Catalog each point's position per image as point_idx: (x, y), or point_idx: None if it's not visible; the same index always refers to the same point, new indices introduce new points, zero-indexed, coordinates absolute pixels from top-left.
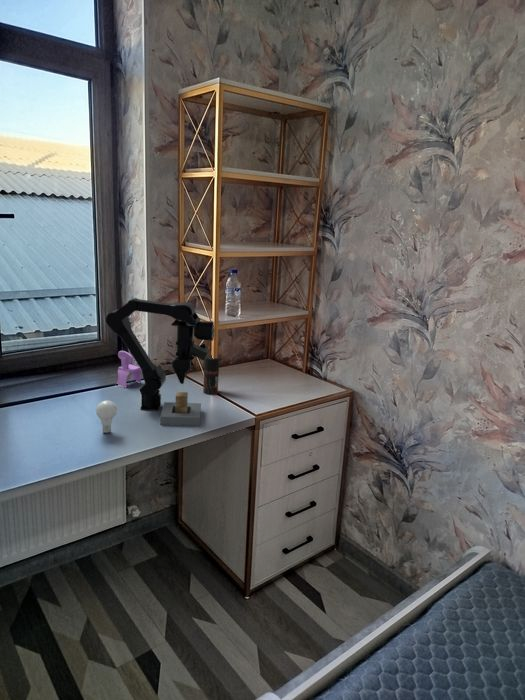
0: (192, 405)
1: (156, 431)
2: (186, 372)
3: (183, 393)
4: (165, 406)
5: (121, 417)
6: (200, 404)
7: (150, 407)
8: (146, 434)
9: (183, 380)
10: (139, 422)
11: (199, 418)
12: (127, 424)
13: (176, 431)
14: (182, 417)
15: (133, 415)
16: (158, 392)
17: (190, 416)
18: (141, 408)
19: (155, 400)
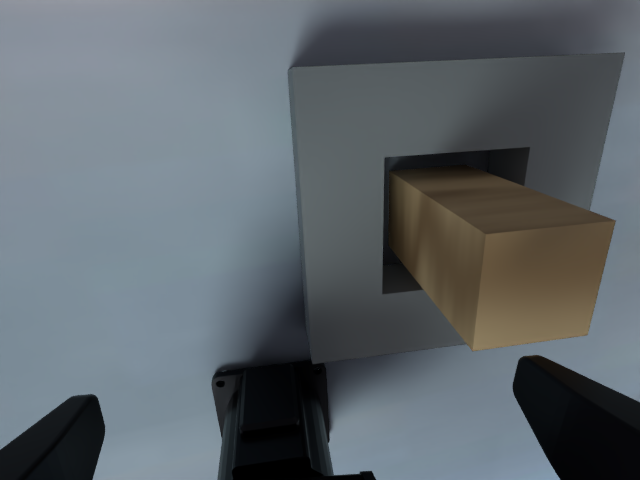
0: (355, 147)
1: (604, 300)
2: (64, 447)
3: (525, 274)
4: (393, 340)
5: (427, 477)
6: (323, 70)
7: (321, 407)
8: (628, 334)
9: (604, 394)
10: (488, 397)
11: (619, 54)
12: (507, 434)
13: (624, 200)
14: (591, 193)
15: (402, 443)
16: (293, 460)
17: (587, 135)
18: (327, 440)
19: (309, 421)
